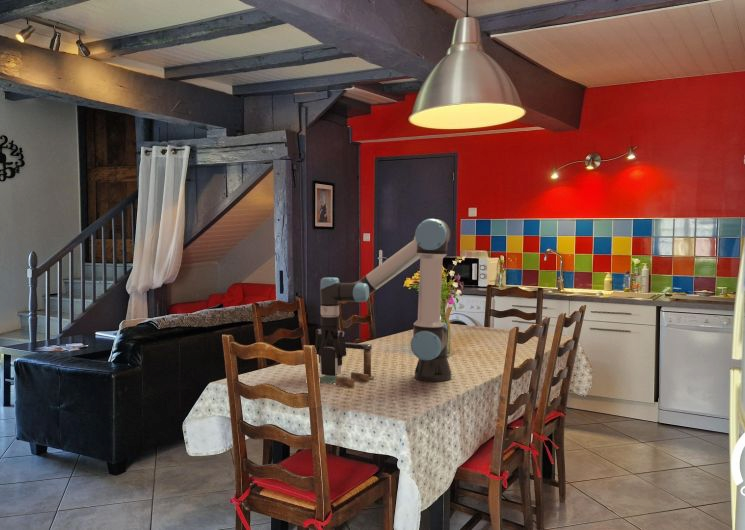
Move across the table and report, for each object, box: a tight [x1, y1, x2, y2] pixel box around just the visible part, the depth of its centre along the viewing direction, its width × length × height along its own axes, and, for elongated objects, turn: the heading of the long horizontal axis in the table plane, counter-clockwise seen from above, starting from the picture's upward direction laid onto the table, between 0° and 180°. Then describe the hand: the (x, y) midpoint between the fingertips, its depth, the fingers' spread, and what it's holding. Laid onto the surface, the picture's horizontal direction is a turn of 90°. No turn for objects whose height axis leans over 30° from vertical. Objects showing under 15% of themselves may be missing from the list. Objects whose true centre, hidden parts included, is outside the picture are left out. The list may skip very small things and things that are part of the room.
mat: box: [319, 375, 349, 385], centre depth 258 cm, size 10×10×1 cm
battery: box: [320, 346, 338, 376], centre depth 258 cm, size 7×4×11 cm, turn 60°
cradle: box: [335, 350, 375, 389], centre depth 255 cm, size 8×19×12 cm, turn 146°
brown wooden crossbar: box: [345, 341, 373, 351], centre depth 263 cm, size 4×17×2 cm, turn 61°
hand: (330, 372), depth 258 cm, fingers closed on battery, 7 cm apart
